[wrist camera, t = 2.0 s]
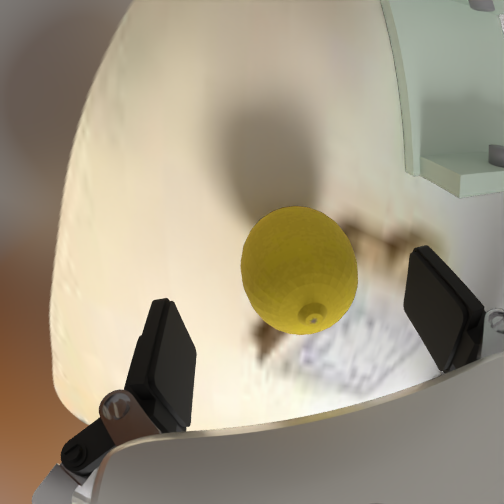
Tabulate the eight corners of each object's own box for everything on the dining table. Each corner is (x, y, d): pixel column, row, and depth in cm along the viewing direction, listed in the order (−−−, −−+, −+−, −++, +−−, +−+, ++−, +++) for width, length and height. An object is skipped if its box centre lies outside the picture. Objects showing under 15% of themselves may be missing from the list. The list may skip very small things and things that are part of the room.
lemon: (276, 168, 16) (305, 227, 9) (348, 221, 18) (407, 300, 11) (223, 243, 18) (213, 338, 11) (294, 284, 20) (317, 380, 13)
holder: (505, 163, 16) (550, 185, 11) (405, 172, 16) (452, 199, 12) (486, 3, 9) (532, -3, 5) (372, -24, 10) (412, -53, 6)
